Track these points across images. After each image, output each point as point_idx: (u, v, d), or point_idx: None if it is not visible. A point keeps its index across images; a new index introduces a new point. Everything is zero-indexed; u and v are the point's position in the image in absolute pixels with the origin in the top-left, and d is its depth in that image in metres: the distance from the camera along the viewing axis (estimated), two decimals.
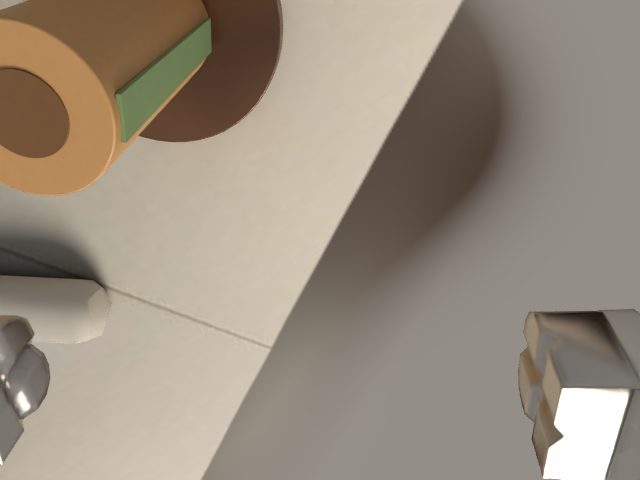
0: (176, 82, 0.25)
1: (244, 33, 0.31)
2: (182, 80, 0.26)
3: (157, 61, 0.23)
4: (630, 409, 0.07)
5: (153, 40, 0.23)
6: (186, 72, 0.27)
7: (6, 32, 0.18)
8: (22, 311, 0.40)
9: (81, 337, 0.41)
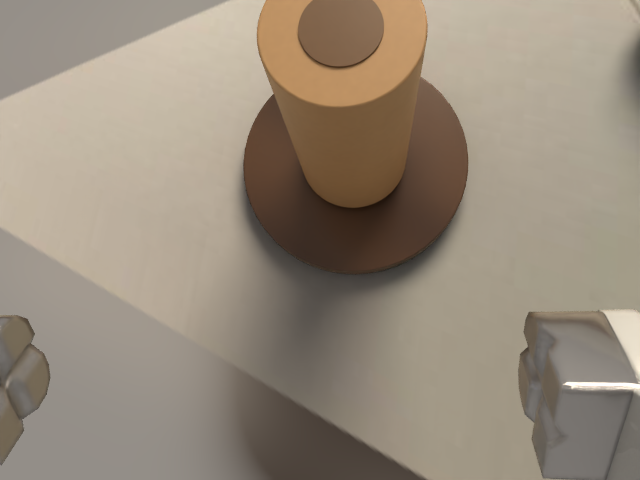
0: None
1: None
2: None
3: None
4: (630, 409, 0.07)
5: None
6: None
7: (285, 75, 0.21)
8: None
9: None
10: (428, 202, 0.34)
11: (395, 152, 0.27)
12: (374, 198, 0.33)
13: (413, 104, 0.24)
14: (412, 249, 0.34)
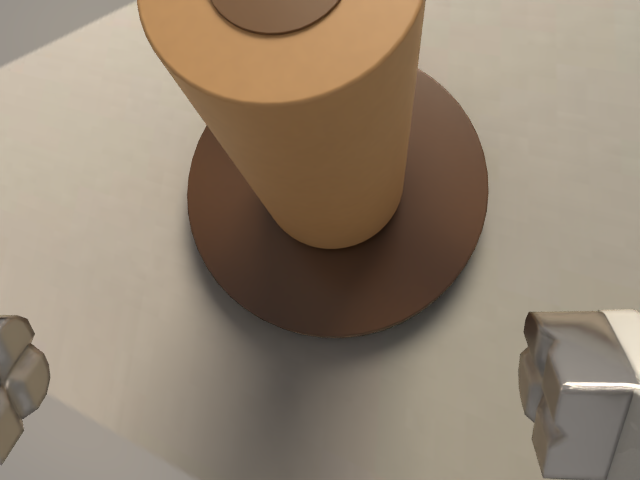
0: None
1: None
2: None
3: None
4: (630, 409, 0.07)
5: None
6: None
7: (184, 54, 0.12)
8: None
9: None
10: (437, 236, 0.25)
11: (387, 173, 0.18)
12: (363, 235, 0.24)
13: (410, 98, 0.15)
14: (419, 302, 0.24)
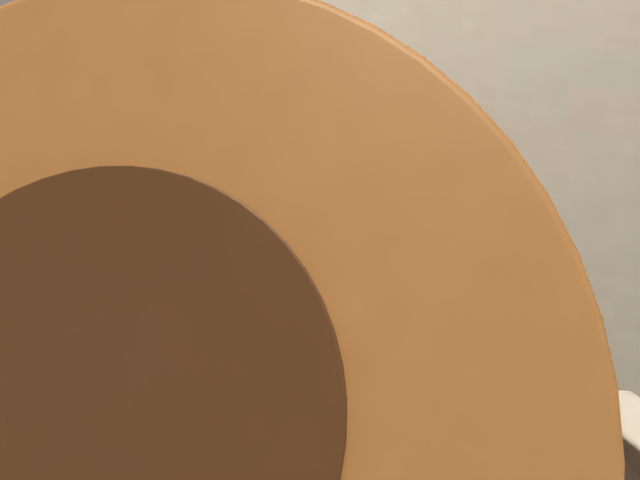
0: None
1: None
2: None
3: None
4: None
5: None
6: None
7: None
8: None
9: None
10: None
11: None
12: None
13: None
14: None
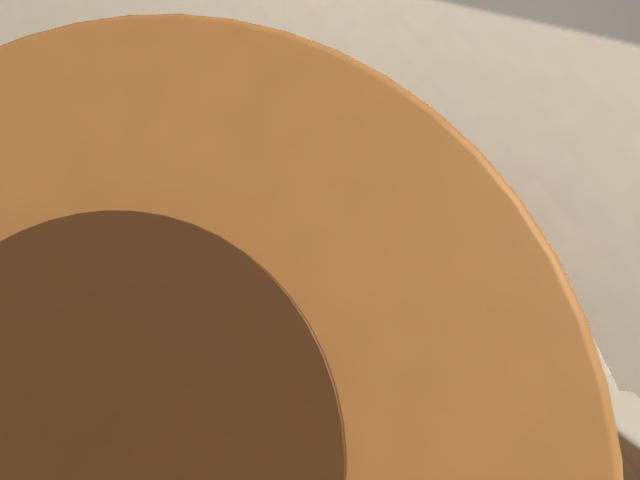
0: None
1: None
2: None
3: None
4: None
5: None
6: None
7: None
8: None
9: None
10: None
11: None
12: None
13: None
14: None
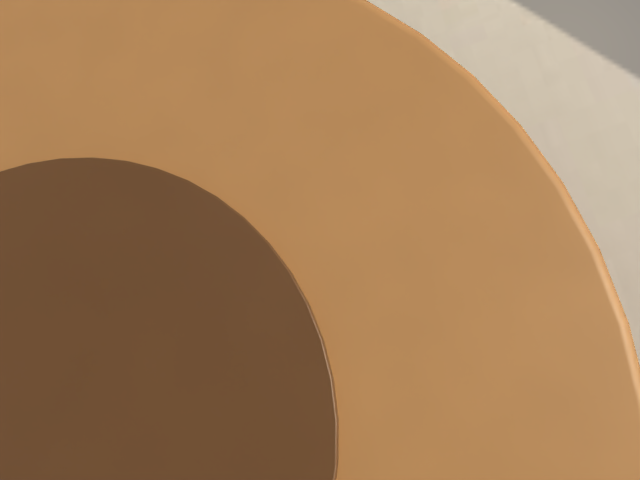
0: None
1: None
2: None
3: None
4: None
5: None
6: None
7: None
8: None
9: None
10: None
11: None
12: None
13: None
14: None
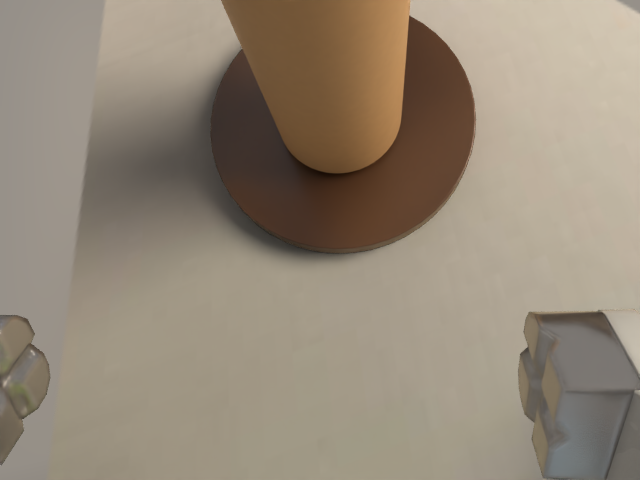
0: None
1: None
2: None
3: None
4: (630, 409, 0.07)
5: None
6: None
7: None
8: None
9: None
10: (331, 216, 0.28)
11: (371, 101, 0.22)
12: (350, 164, 0.27)
13: (394, 33, 0.19)
14: (272, 225, 0.29)
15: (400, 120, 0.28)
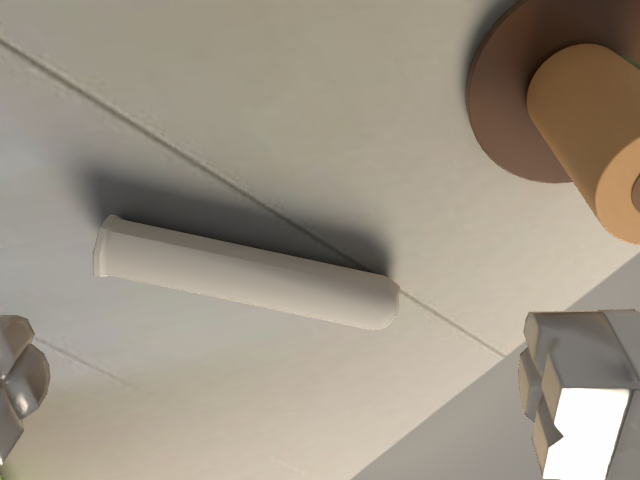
0: None
1: None
2: None
3: None
4: (630, 409, 0.07)
5: None
6: None
7: None
8: (343, 297, 0.45)
9: (382, 326, 0.46)
10: (494, 88, 0.38)
11: (559, 160, 0.33)
12: (530, 109, 0.37)
13: None
14: (491, 43, 0.37)
15: None
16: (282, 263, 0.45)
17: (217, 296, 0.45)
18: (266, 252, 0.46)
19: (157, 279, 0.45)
